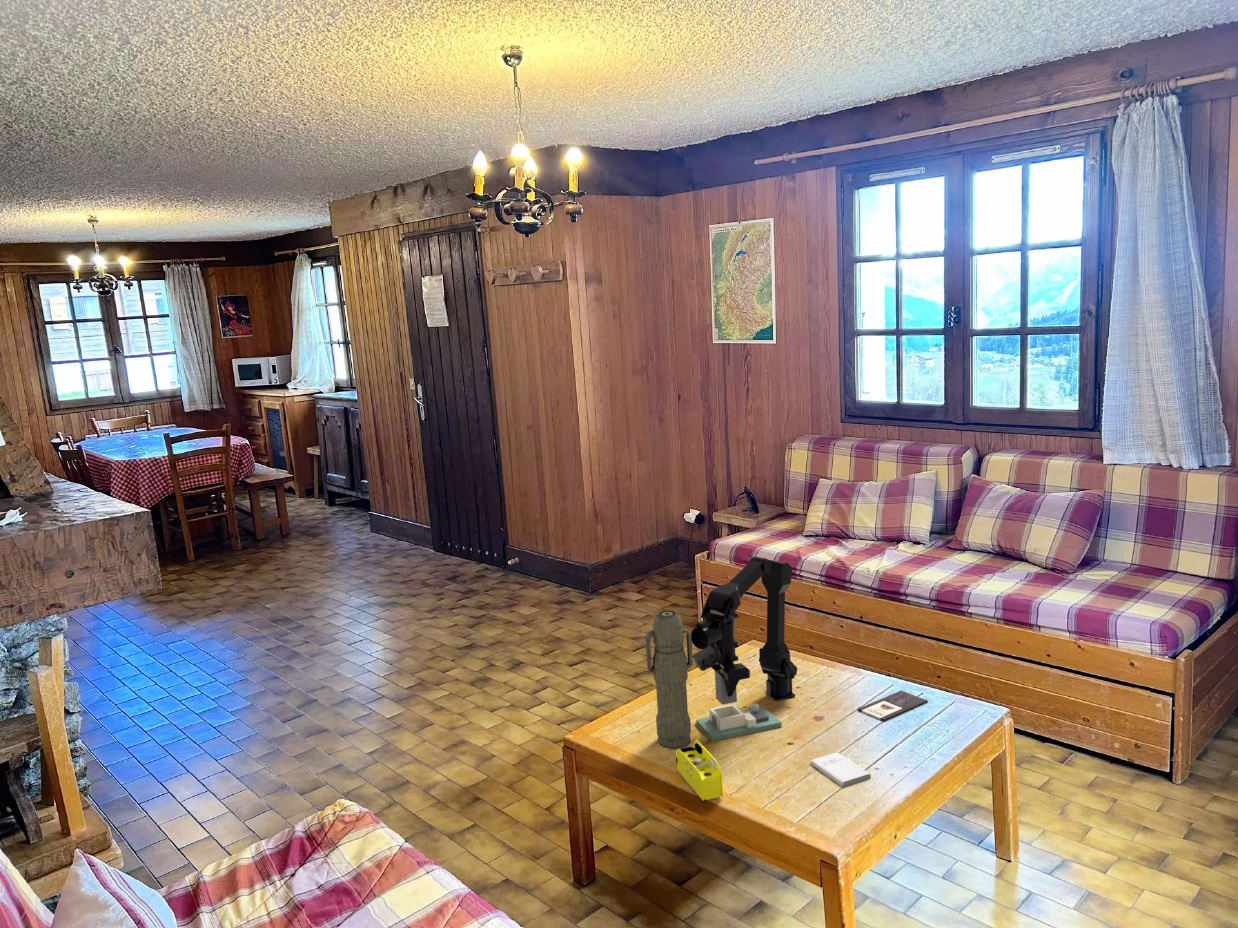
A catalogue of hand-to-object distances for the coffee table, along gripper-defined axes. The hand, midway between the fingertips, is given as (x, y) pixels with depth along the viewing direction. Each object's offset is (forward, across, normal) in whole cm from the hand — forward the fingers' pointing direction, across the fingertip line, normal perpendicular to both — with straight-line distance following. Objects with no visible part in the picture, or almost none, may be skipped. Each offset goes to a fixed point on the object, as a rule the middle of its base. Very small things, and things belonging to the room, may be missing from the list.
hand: (726, 692), depth 244 cm
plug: (+2, 0, 0) cm, 2 cm away
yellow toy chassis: (+10, +25, -19) cm, 33 cm away
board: (+10, 0, +3) cm, 10 cm away
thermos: (+10, +2, -16) cm, 19 cm away
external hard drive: (+10, +32, +15) cm, 37 cm away
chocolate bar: (+10, +8, +46) cm, 48 cm away
